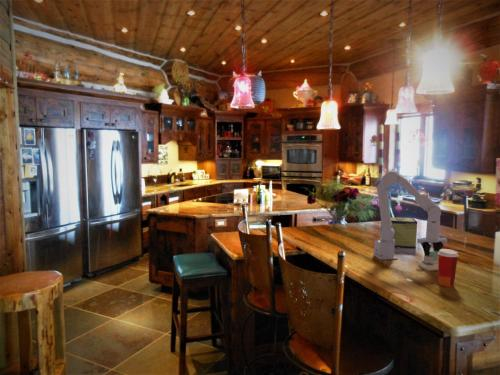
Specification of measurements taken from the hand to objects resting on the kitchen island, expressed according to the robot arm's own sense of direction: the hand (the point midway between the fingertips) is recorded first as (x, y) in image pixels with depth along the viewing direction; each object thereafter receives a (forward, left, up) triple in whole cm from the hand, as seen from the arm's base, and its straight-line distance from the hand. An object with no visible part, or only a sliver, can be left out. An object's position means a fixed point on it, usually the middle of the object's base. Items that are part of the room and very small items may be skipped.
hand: (431, 257), depth 186 cm
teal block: (0, 0, -2) cm, 2 cm away
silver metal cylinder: (-6, -7, -2) cm, 9 cm away
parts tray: (-3, -7, -3) cm, 8 cm away
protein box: (+2, +31, -3) cm, 32 cm away
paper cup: (-12, -28, -3) cm, 30 cm away
